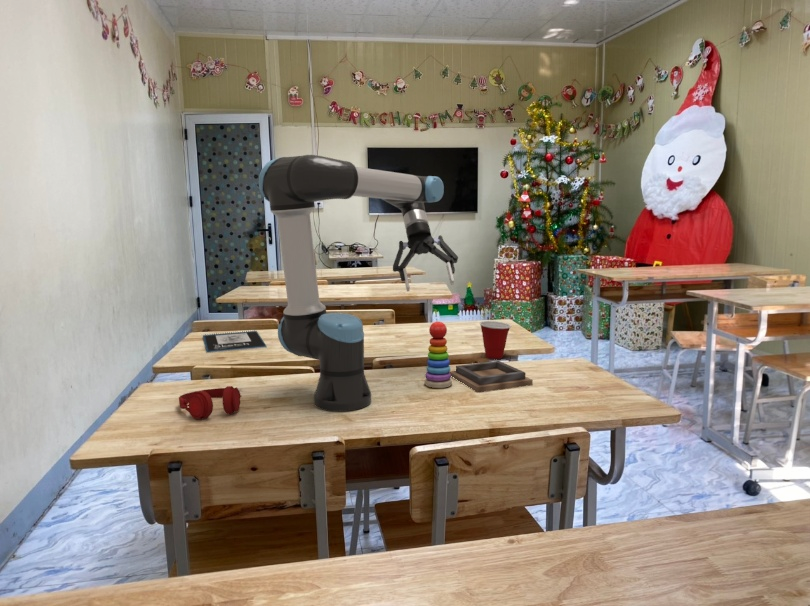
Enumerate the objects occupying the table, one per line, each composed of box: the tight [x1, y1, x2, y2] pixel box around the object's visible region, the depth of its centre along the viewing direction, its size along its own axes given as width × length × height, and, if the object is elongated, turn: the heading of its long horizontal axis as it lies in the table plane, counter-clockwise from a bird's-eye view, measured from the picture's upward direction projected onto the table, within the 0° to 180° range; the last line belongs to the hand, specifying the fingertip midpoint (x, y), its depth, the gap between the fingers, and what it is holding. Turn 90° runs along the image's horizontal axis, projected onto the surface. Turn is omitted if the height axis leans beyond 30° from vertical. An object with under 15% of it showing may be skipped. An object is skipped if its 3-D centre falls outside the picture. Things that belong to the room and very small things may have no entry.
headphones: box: [178, 385, 242, 420], centre depth 155 cm, size 15×7×20 cm
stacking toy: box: [424, 321, 453, 389], centre depth 171 cm, size 8×8×19 cm
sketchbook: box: [202, 329, 268, 354], centre depth 233 cm, size 22×30×2 cm
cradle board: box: [450, 360, 534, 393], centre depth 177 cm, size 18×18×4 cm
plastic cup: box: [479, 320, 512, 360], centre depth 204 cm, size 11×11×12 cm
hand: (430, 286), depth 178 cm, fingers open, 13 cm apart
